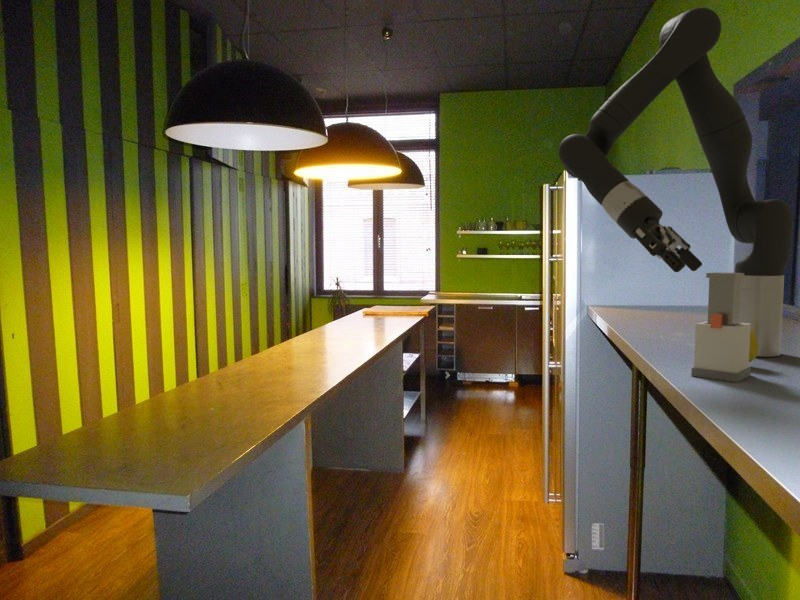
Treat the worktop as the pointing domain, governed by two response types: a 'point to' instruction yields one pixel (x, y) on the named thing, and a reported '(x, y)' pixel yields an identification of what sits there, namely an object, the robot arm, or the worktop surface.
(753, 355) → the lemon
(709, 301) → the column
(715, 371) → the stand
